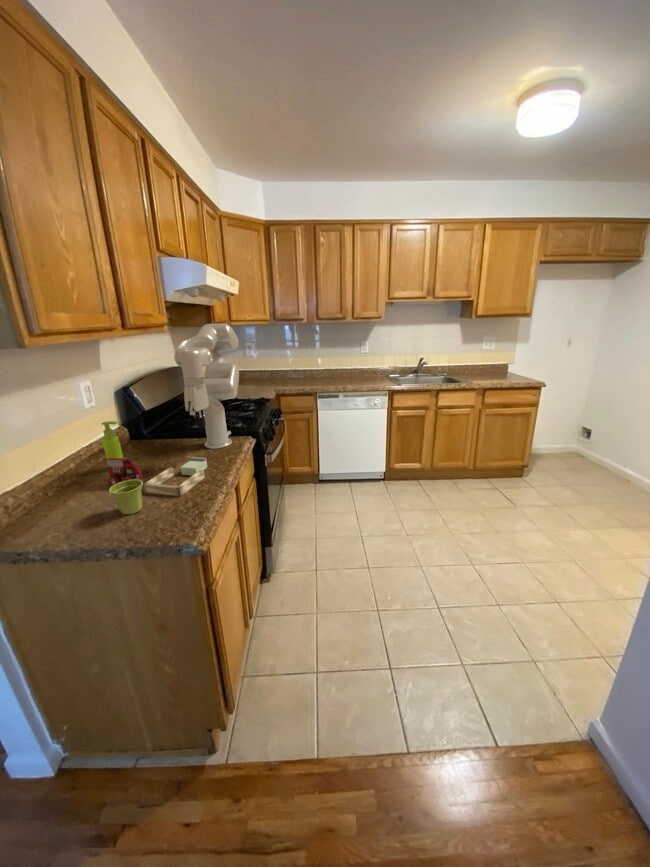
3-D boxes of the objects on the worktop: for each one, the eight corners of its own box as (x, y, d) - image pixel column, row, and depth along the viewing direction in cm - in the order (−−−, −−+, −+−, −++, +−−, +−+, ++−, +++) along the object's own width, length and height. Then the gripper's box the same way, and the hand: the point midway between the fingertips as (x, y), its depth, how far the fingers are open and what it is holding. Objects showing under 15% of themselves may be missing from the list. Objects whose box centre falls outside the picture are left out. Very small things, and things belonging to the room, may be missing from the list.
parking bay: (170, 474, 139) (169, 467, 138) (204, 477, 135) (203, 470, 134) (144, 492, 125) (142, 484, 124) (181, 496, 122) (179, 488, 121)
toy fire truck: (136, 488, 128) (130, 462, 125) (105, 487, 130) (99, 461, 127) (148, 480, 135) (142, 455, 131) (118, 479, 136) (112, 454, 133)
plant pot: (111, 510, 114) (105, 486, 111) (141, 499, 120) (136, 476, 117) (121, 521, 108) (114, 496, 105) (152, 509, 114) (147, 485, 111)
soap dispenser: (123, 470, 144) (111, 423, 138) (106, 471, 144) (94, 424, 138) (130, 464, 150) (120, 419, 143) (114, 465, 150) (103, 420, 143)
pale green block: (193, 466, 146) (191, 456, 144) (207, 467, 144) (205, 457, 143) (181, 475, 138) (180, 464, 137) (196, 476, 137) (195, 465, 136)
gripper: (196, 378, 146) (203, 421, 152) (174, 385, 133) (182, 431, 138) (213, 378, 145) (218, 421, 150) (191, 385, 131) (199, 432, 137)
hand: (201, 426), depth 144 cm, fingers closed
